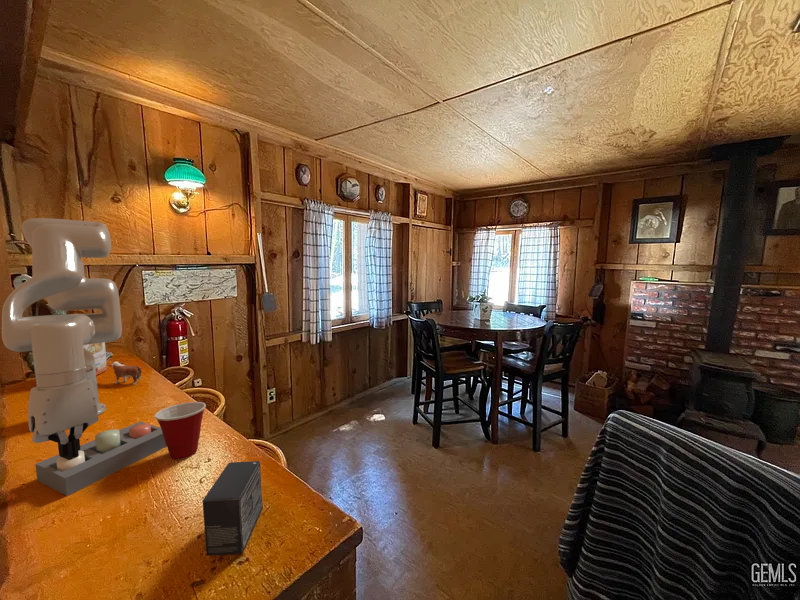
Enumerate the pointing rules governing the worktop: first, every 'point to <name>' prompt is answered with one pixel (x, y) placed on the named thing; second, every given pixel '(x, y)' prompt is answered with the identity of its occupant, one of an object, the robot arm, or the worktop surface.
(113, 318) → the robot arm
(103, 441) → the sage button
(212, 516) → the small box
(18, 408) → the worktop surface
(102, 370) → the cracker box
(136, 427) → the brick button
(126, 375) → the bull figurine
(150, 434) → the panel
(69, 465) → the ivory button
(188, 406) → the plastic cup
